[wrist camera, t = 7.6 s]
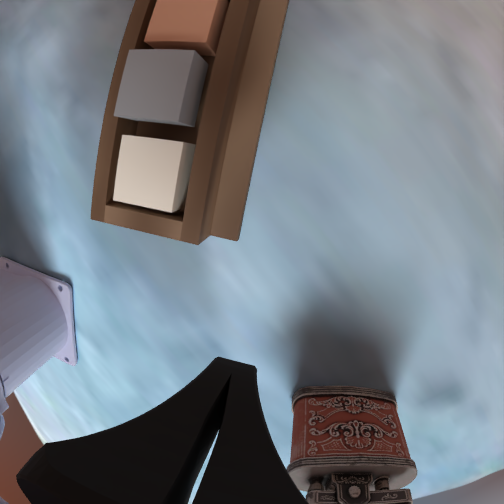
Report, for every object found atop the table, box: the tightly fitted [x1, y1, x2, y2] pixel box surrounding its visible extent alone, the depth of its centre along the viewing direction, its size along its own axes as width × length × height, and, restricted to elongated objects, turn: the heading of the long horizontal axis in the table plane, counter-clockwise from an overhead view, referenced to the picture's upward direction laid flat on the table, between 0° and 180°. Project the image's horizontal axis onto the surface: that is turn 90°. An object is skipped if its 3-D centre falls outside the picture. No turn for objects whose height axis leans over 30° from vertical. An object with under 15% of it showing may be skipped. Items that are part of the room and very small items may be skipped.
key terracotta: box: [144, 0, 230, 56], centre depth 14 cm, size 4×4×2 cm
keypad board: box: [91, 0, 289, 245], centre depth 16 cm, size 10×15×3 cm, turn 169°
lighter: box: [287, 386, 417, 504], centre depth 16 cm, size 8×3×10 cm, turn 85°
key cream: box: [113, 135, 196, 213], centre depth 17 cm, size 4×4×2 cm
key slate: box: [114, 49, 209, 127], centre depth 14 cm, size 4×4×2 cm
